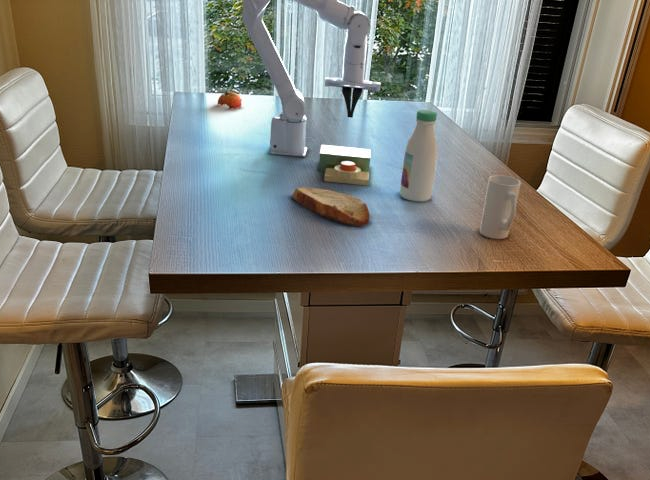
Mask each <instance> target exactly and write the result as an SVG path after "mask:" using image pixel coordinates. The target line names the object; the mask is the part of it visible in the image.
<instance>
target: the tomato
mask: <svg viewBox="0 0 650 480" xmlns="http://www.w3.org/2000/svg"><path fill="white" fill-rule="evenodd" d="M219 105H220V106H224V105H225V106H227V107H228V110H232V109H233V110H235V109H241V108H242V105H243V104H242V98H241V97H240V95H239V94H238V93H236V92H234V91H229V90H225V91H224V93H222V94H220V95H219V97H218V99H217V106H219Z"/></svg>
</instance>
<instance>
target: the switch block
mask: <svg viewBox="0 0 650 480" xmlns="http://www.w3.org/2000/svg"><path fill="white" fill-rule="evenodd" d="M340 168H341V165H337V166H335V168H334V169H332V168H326V171H324V172H325V173H324V179H323V182H329V183H330V182H331V183H340V184H341V183H342V184H351V185H361V186H369V184H370V183H369V182H370V171H369V172H362V171H361V169H360V168H359V167H357V166H355V171H344V170H341V169H340Z"/></svg>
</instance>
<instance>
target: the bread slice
mask: <svg viewBox="0 0 650 480" xmlns="http://www.w3.org/2000/svg"><path fill="white" fill-rule="evenodd" d="M291 198H292V199H293V200H294V201H295V202H297V203H298V204H299V205H301V206H302V207H304V208H306V209H307V210H310V211H311V212H313V213H316V214H317V215H318V216H321V217H323V218H325V219H329V220H330V221H332V222H337V223H340V224H342V225H347V226H351V227H363V226H365V225H367V224H369V222H370V211H369V208H368V206H367V205H368V204H367V203H366V202H364V201H363V200H362V199H360V198H358V197H355V196H352V195H350V194H346V193H340V192H337V191H333V190H330V189H325V188H323V189H322V188H316V187H296V188H295V190H294V191H293V194H292V196H291Z"/></svg>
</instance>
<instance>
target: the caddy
mask: <svg viewBox="0 0 650 480" xmlns="http://www.w3.org/2000/svg"><path fill="white" fill-rule="evenodd" d="M318 159H319V161H318V162H319V163H318V171H319V172H320V171H321V172H326V168H332V169H334V168H335V166H337V165H341V162H343V161H351V162H354V163H355V166H357V167H359V168H360V169H361V171H362V172H369V173H370V165H371V159H370V160H361V159H351V158H341V157H331V156H321V155H320V154H319V158H318Z"/></svg>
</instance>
